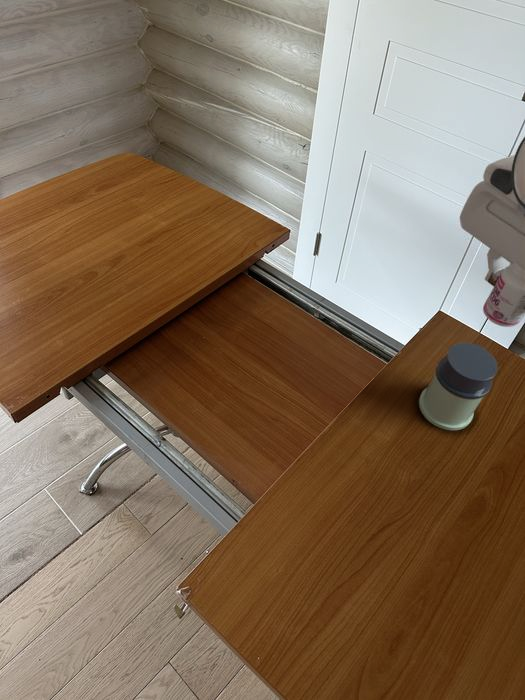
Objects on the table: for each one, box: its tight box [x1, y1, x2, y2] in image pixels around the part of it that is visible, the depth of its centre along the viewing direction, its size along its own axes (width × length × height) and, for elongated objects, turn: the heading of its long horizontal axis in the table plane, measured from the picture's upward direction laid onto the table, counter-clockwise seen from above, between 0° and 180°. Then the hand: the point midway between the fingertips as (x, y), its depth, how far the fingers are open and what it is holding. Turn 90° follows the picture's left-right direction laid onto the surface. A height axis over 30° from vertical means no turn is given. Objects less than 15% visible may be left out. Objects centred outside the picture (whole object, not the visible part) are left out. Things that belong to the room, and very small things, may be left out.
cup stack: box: [418, 342, 499, 431], centre depth 81 cm, size 9×9×12 cm
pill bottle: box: [482, 262, 525, 328], centre depth 63 cm, size 5×5×8 cm
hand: (511, 296), depth 63 cm, fingers closed on pill bottle, 5 cm apart
